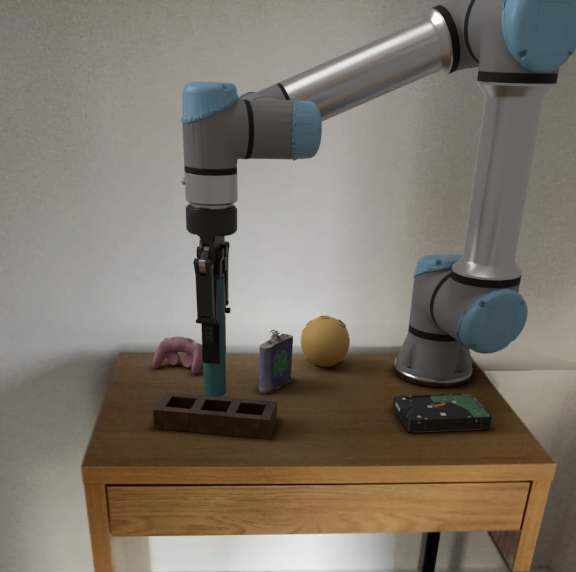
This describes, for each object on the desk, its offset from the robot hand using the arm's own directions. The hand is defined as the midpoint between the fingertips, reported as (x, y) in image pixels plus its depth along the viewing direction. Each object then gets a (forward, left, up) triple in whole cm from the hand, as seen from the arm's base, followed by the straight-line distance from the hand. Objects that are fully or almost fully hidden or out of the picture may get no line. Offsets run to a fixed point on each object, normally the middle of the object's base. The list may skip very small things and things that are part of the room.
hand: (214, 357), depth 121 cm
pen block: (0, 0, -12) cm, 12 cm away
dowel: (0, 0, -6) cm, 6 cm away
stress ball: (-15, -32, -12) cm, 37 cm away
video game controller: (+13, -24, -12) cm, 30 cm away
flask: (-7, -19, -12) cm, 24 cm away
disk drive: (-38, -10, -12) cm, 41 cm away
